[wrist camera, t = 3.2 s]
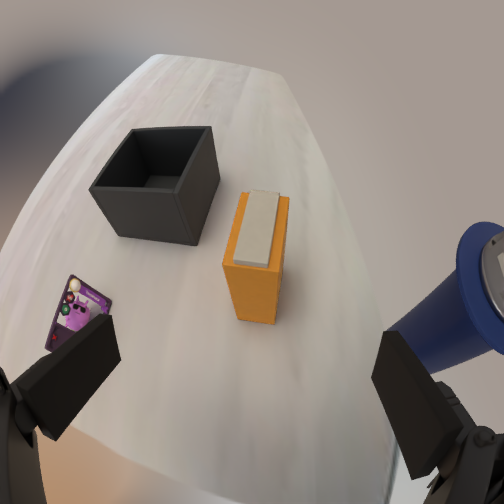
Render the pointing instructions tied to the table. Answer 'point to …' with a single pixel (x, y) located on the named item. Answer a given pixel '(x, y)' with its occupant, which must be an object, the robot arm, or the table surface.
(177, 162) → the bin
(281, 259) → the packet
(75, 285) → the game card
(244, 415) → the table surface
